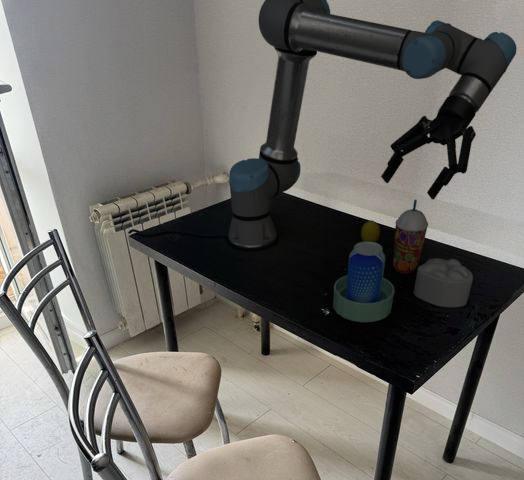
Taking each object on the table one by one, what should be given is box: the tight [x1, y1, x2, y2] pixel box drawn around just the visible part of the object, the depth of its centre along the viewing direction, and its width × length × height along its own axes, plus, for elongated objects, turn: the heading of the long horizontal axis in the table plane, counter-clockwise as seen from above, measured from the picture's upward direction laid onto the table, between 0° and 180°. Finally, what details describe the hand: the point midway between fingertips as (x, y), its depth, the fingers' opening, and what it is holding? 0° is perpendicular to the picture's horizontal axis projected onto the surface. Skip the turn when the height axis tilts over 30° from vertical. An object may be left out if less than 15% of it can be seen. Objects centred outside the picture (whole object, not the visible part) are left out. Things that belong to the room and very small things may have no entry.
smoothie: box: [392, 199, 429, 275], centre depth 134 cm, size 8×8×20 cm
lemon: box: [360, 219, 381, 243], centre depth 150 cm, size 6×6×8 cm
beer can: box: [346, 241, 386, 303], centre depth 121 cm, size 8×8×16 cm
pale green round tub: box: [332, 274, 396, 323], centre depth 125 cm, size 15×15×6 cm
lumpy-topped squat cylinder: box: [413, 257, 474, 308], centre depth 127 cm, size 10×13×9 cm
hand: (406, 187), depth 114 cm, fingers open, 13 cm apart
